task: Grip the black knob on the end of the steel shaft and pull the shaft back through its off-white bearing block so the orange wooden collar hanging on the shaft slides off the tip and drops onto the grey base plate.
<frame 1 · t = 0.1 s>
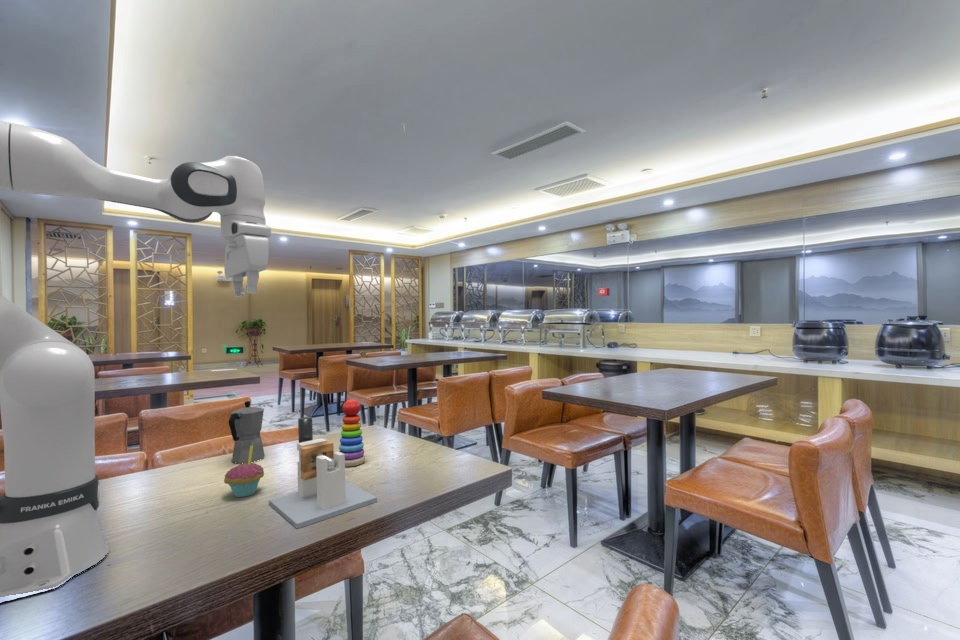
hand: (245, 295, 96), 48 cm above the table, tool pointing down, fingers open, 8 cm apart
stacking toy: (351, 463, 127), on the table
coffeepot: (246, 461, 132), on the table
collar: (317, 475, 100), point 6 cm above the table, touching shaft
stand: (323, 503, 98), on the table
cupcake: (245, 494, 105), on the table
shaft: (316, 441, 101), point 13 cm above the table, slide at 0.0 cm, touching collar
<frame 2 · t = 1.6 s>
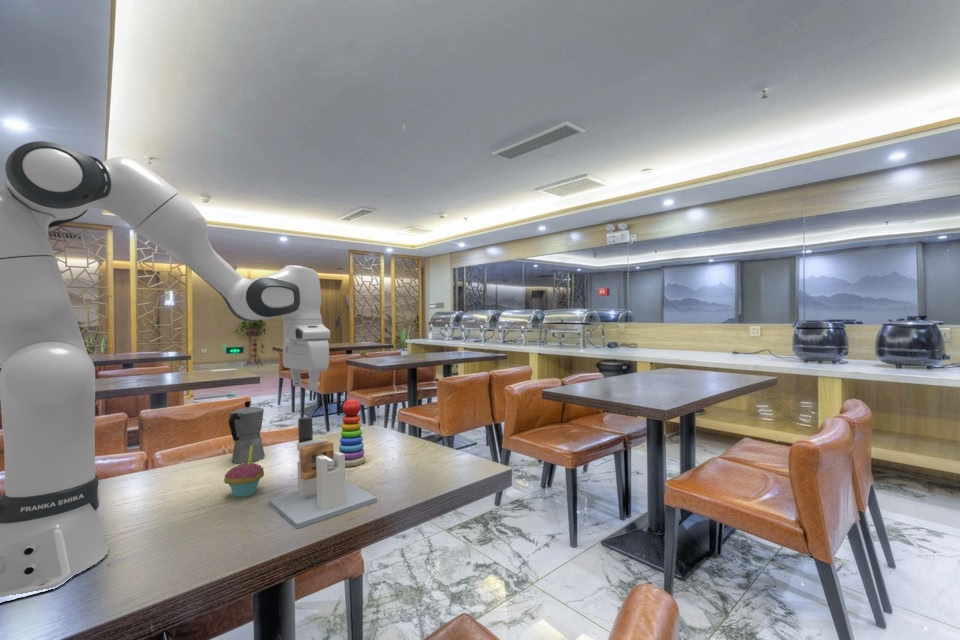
hand: (304, 388, 106), 25 cm above the table, tool pointing down, fingers open, 8 cm apart
nothing on the table moved.
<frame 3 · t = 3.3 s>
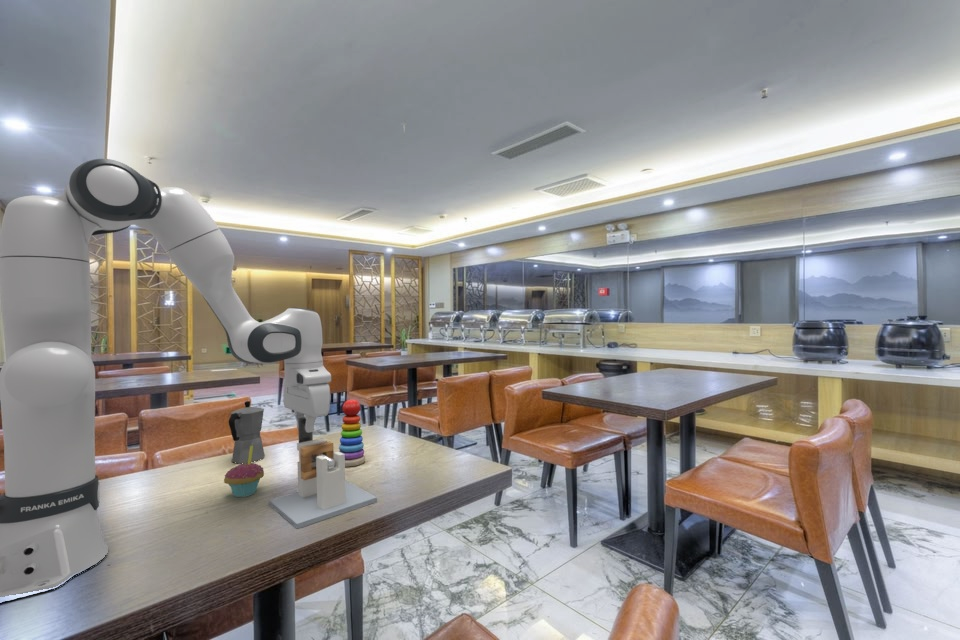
hand: (305, 430, 105), 15 cm above the table, tool pointing down, fingers closed on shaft, 3 cm apart
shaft: (316, 441, 101), point 14 cm above the table, slide at 0.0 cm, touching collar, gripper
everything else where it was.
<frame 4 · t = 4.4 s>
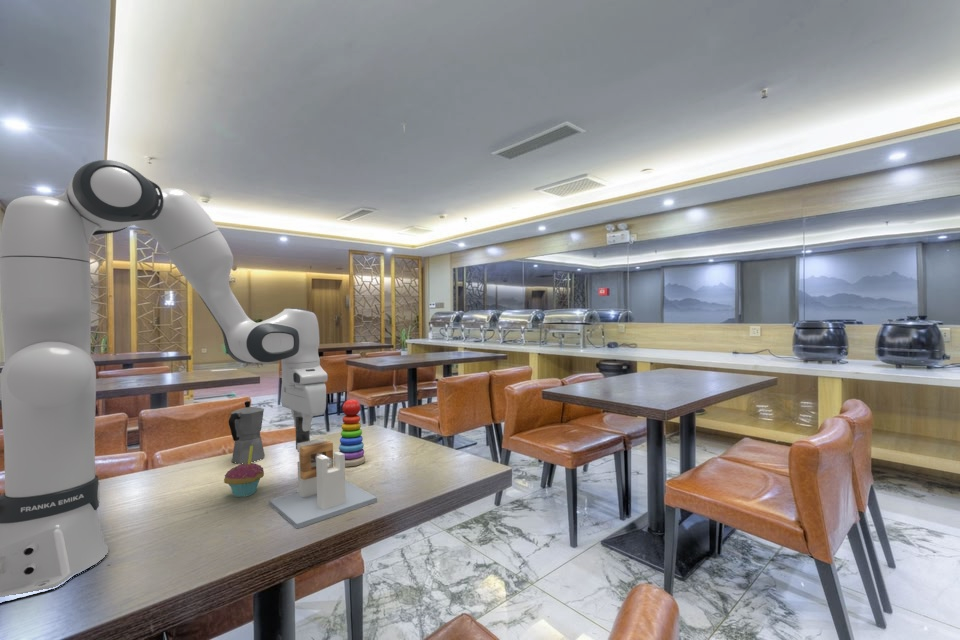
hand: (302, 429, 107), 15 cm above the table, tool pointing down, fingers closed on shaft, 3 cm apart
collar: (317, 474, 101), point 6 cm above the table
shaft: (313, 440, 102), point 14 cm above the table, slide at 1.9 cm, touching gripper
everything else where it was.
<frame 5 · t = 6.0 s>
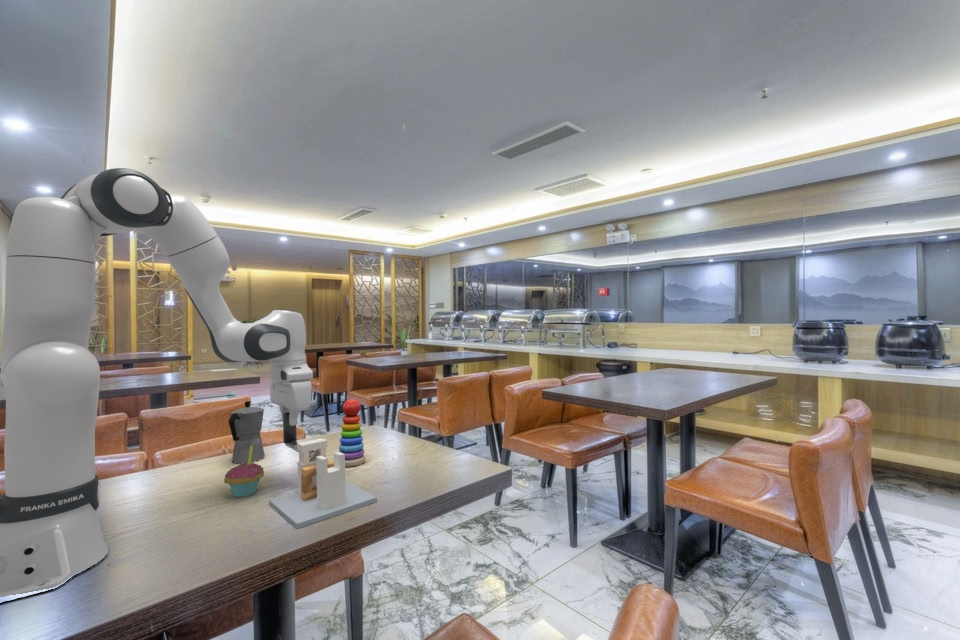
hand: (289, 423, 113), 15 cm above the table, tool pointing down, fingers closed on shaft, 3 cm apart
collar: (318, 495, 100), point 1 cm above the table, touching stand
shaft: (299, 434, 108), point 14 cm above the table, slide at 10.6 cm, touching gripper
everything else where it was.
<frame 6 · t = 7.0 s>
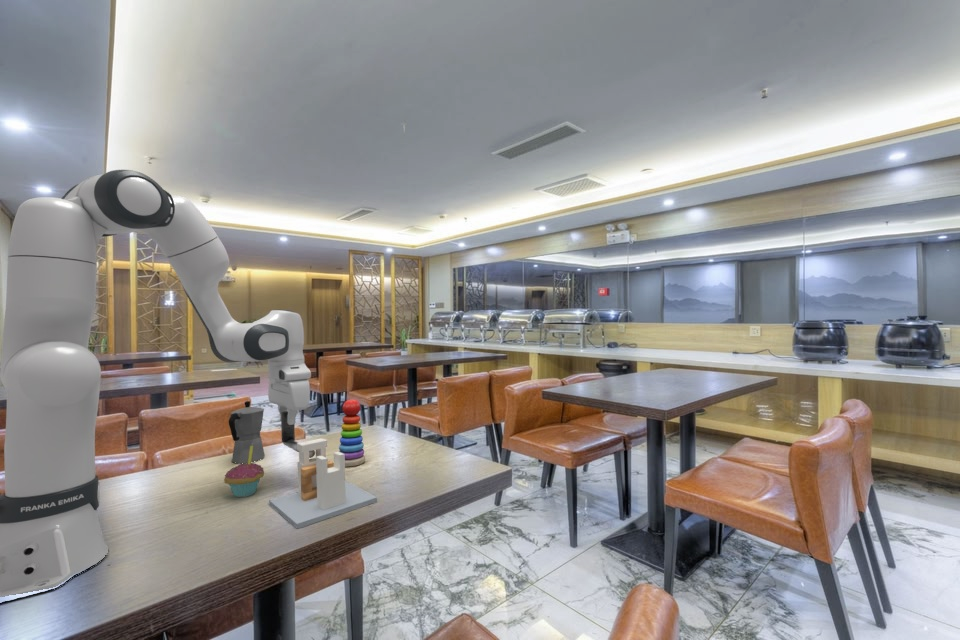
hand: (287, 422, 114), 15 cm above the table, tool pointing down, fingers closed on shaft, 3 cm apart
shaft: (297, 433, 109), point 14 cm above the table, slide at 12.0 cm, touching gripper
everything else where it was.
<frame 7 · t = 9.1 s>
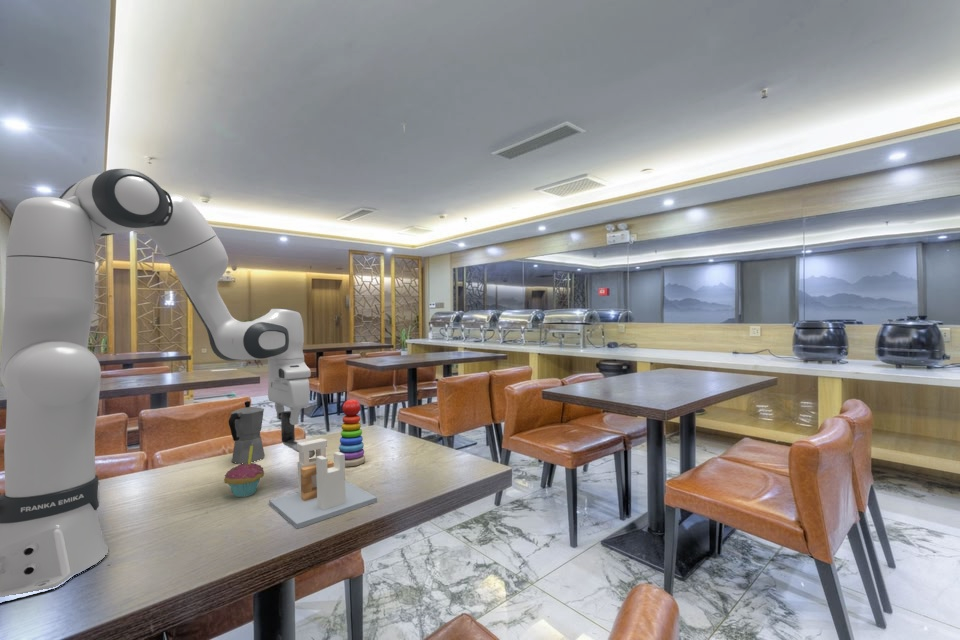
hand: (287, 421, 114), 15 cm above the table, tool pointing down, fingers open, 8 cm apart
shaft: (297, 433, 109), point 14 cm above the table, slide at 12.0 cm
everything else where it was.
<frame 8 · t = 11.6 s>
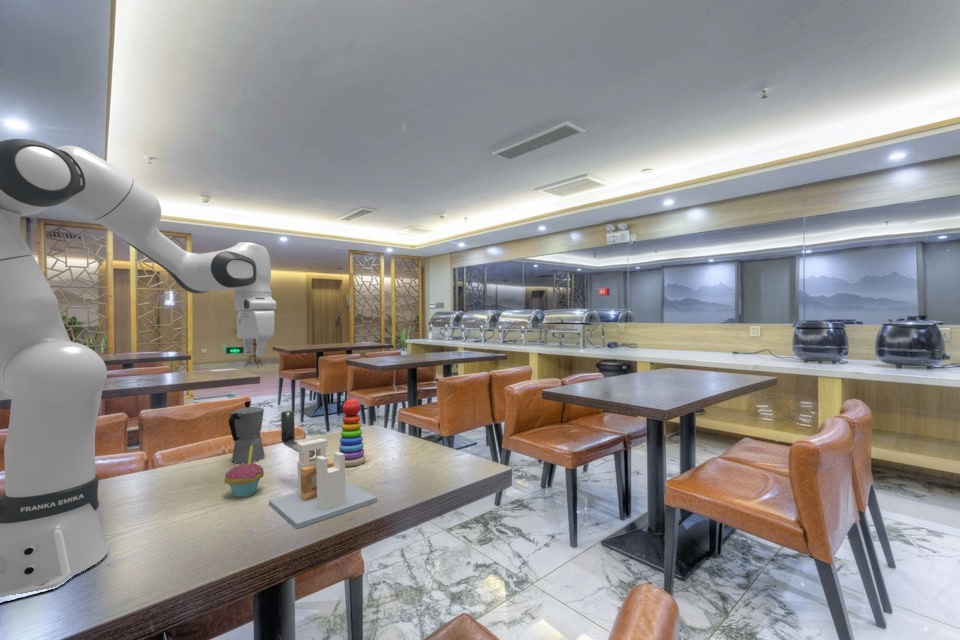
hand: (254, 355, 115), 33 cm above the table, tool pointing down, fingers open, 8 cm apart
nothing on the table moved.
at the end: collar inside the target area on the stand (4.0 cm from its centre), point 1.0 cm above the stand's base; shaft slide at 12.0 cm; collar touching stand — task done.
